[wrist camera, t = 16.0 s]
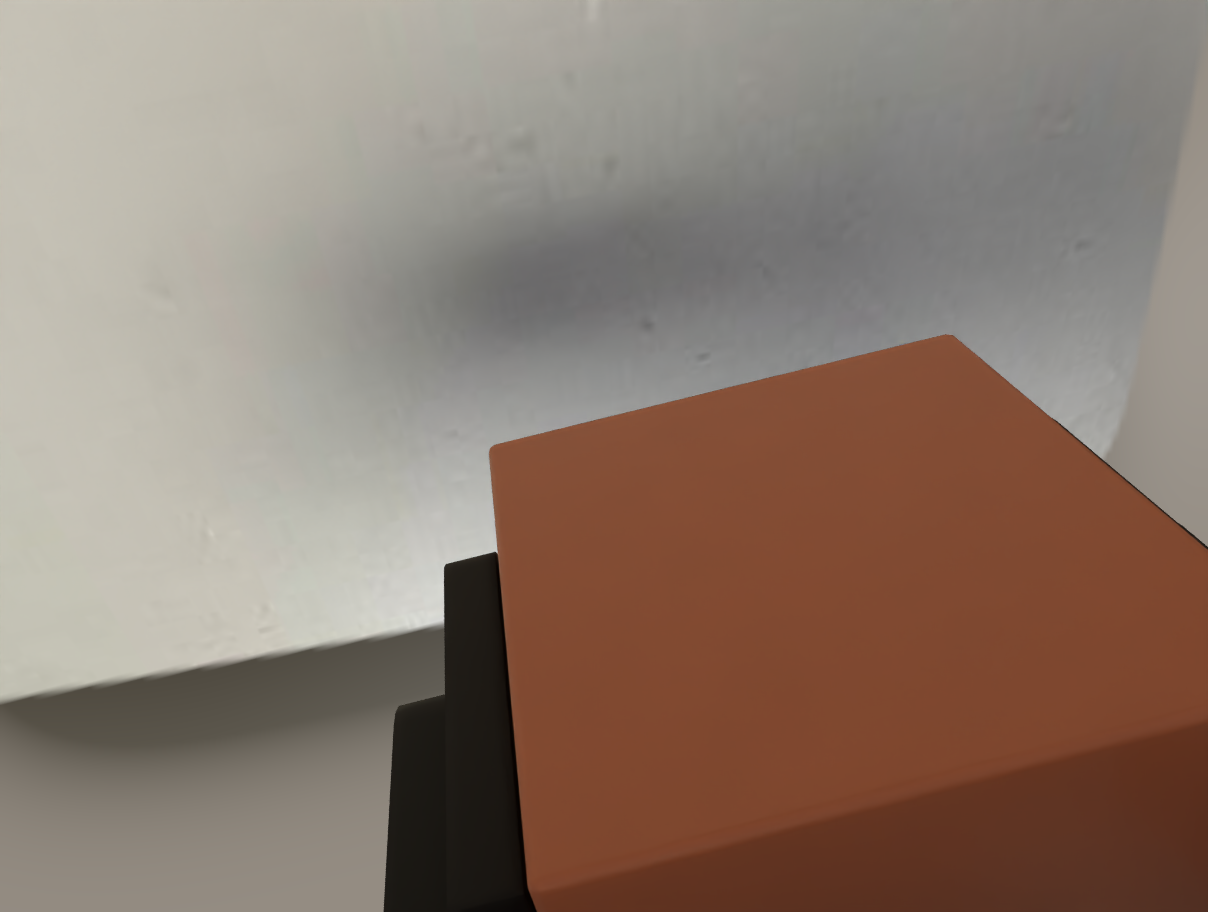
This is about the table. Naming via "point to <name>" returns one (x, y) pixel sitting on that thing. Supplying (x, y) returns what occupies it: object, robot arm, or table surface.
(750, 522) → the block
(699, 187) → the table surface
